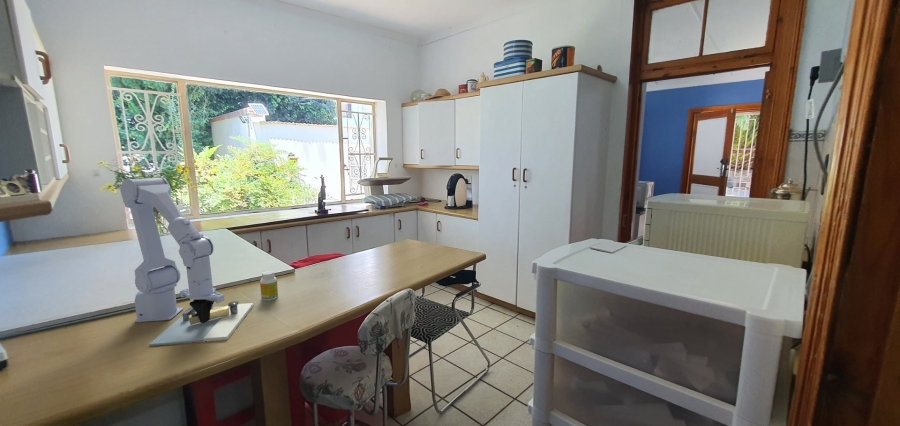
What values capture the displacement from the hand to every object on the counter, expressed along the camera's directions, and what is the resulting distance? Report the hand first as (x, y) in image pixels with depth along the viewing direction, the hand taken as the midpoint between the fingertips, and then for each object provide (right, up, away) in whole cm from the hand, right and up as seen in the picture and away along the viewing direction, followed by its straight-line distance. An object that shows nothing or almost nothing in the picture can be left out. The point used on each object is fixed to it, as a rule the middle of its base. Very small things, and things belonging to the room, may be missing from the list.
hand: (205, 321), depth 104 cm
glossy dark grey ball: (+4, -1, +7) cm, 9 cm away
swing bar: (0, 0, +3) cm, 3 cm away
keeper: (-6, -1, +6) cm, 9 cm away
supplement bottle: (+8, +2, +21) cm, 23 cm away
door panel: (-1, -1, +2) cm, 3 cm away
